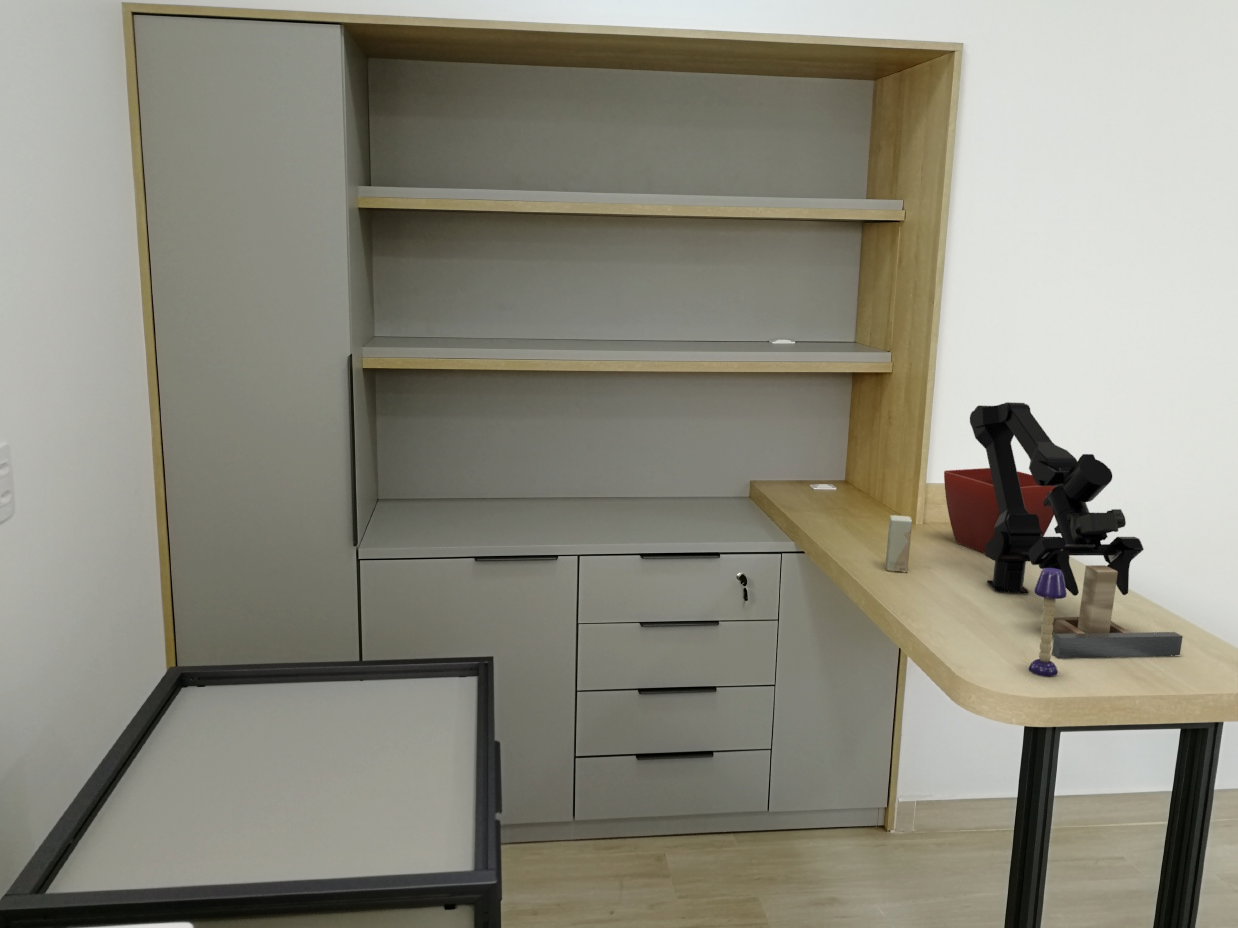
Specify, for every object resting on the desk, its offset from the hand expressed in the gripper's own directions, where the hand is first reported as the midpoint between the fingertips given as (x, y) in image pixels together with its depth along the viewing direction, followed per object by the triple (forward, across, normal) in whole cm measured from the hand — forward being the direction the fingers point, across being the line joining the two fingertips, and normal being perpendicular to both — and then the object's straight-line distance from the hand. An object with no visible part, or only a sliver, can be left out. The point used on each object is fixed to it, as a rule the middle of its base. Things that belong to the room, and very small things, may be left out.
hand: (1101, 594), depth 176 cm
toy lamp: (+15, -17, -2) cm, 23 cm away
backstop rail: (+10, 0, +2) cm, 10 cm away
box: (-24, -18, +37) cm, 48 cm away
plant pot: (-36, +14, +48) cm, 61 cm away
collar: (+6, 0, +7) cm, 9 cm away
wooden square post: (+6, 0, +7) cm, 9 cm away
